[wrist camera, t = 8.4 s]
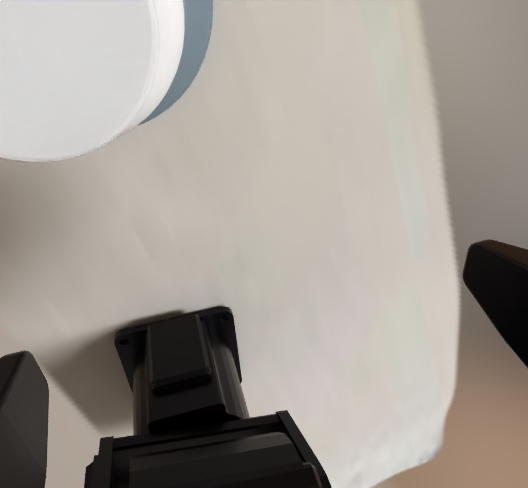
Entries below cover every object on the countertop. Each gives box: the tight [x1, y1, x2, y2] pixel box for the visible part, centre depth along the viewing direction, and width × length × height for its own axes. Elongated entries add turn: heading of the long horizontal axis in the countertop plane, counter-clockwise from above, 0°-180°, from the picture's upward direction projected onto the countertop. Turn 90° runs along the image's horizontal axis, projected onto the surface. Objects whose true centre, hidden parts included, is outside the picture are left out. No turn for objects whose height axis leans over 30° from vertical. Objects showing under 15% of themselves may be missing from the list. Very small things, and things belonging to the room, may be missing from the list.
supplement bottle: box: [0, 0, 185, 162], centre depth 10 cm, size 5×5×10 cm
